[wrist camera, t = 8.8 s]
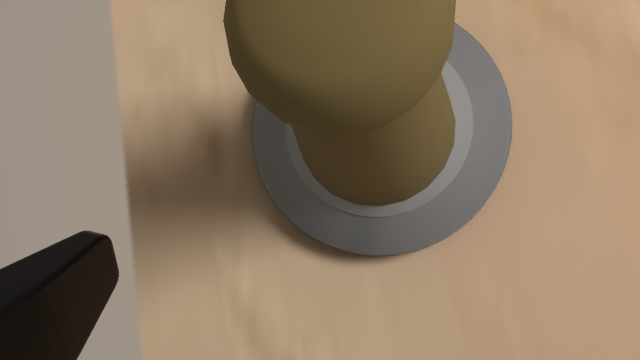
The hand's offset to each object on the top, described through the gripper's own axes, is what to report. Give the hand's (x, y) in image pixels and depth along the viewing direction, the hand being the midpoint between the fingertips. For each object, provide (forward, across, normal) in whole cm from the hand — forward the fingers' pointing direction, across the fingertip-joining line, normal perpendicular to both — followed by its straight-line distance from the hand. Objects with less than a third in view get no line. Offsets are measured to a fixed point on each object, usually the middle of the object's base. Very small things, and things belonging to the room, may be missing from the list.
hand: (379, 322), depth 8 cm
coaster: (+14, +3, +5) cm, 15 cm away
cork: (+13, +3, +5) cm, 15 cm away
